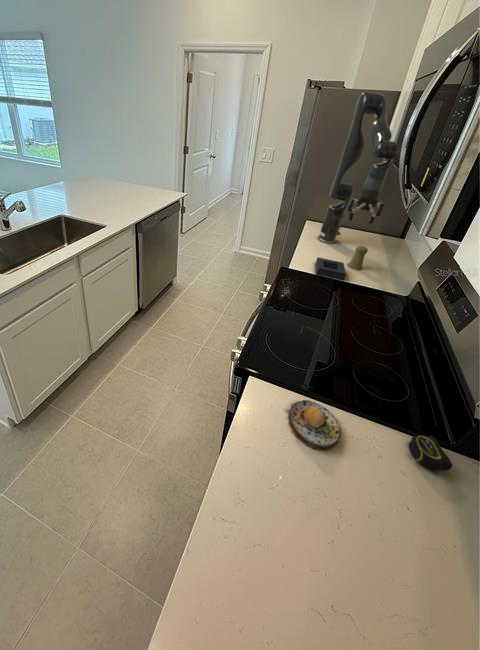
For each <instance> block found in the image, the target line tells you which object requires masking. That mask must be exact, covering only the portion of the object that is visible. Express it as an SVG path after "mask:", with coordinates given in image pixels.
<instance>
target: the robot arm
mask: <svg viewBox="0 0 480 650" xmlns="http://www.w3.org/2000/svg"><path fill="white" fill-rule="evenodd" d="M387 113H388V112H387V101H386V97H385V95H384V94H383V93H380V92H371V91H363V92H362V93H361V94H360V95H359V97H358V99H357V102H356V105H355V109H354V112H353V117H352V121H351V125H350V129H349V133H348V136H347V139H346V142H345V144H344V148H343V151H342V155H341V158H340V161H339V165H338V168H337V171H336V173H335V177H334V179H333V182H332V185H331V188H330V191H329V198H330V200H335V201H339V202H337V203H331V204H330V205H328V207H327V210H326V212H325V216H324V219H323V222H322V225H321V228H320V231H319V234H318V238H317V240H319V241H321V242H323V243H326V244H334V243H336V239H337V236H338V235H339V234H340V233H341V232H340V228H341V225H342V222H343V219H344V216H345V213H346V211H347V212H349V215H348V220H349V221H350V222H352V221H353V218H354V215H355V213H356V212H357V211H359V210H361V211H367V212H369V211H370V213H371V215H370V217H369V220H368V225H372V224H373V223H374V221H375V219H376V217H381V215H382V212H383V208H384V206H385V204H384V203H383V202H378V200H379V197H380V194H381V192H382V190H383V188H384V184H385V180H386V177H387V175H388V172H389V170H390V169H391V167H392V166H393V165H394V163H393V159H394V154H395V151H396V145H397V143H396V142H397V141H392V140H391V139H392V137H393V135H392V134H393V133H392V130H391V128H390V125H389V123H388V122H389V121H388V114H387ZM365 115H366V116H367V115H368V116H374V118H375V119H374V121H373V122H372V124H371V126H370V134H371V138H372V150H371V154H372V155H373V157H374V158H376V159H383V160H382V161H381V162H378V163H373V164H372V165H371V167H370V170H369V171H368V174H367V177H366V179H365V182H364V184H363V186H362V189H361V192H360V194H359V198H358V199H357V198H354V197H352V196H353V193H354V190H355V186H354V184H352V183H348V182H342V181H343V179H344V177H345V176H346V174H347V173H348V172H349V171H350V170H351V169H353V167H355V166H356V165H357V164H358V163H359V162H360V161H361V159H362V156H363V154H364V151H365V149H366V137H365V134H364V129H363V121H364V116H365ZM356 203H357V205H355V206H354V204H356ZM353 206H354V207H353ZM375 207H377V211H376V212H375V210H374V208H375Z"/></svg>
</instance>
